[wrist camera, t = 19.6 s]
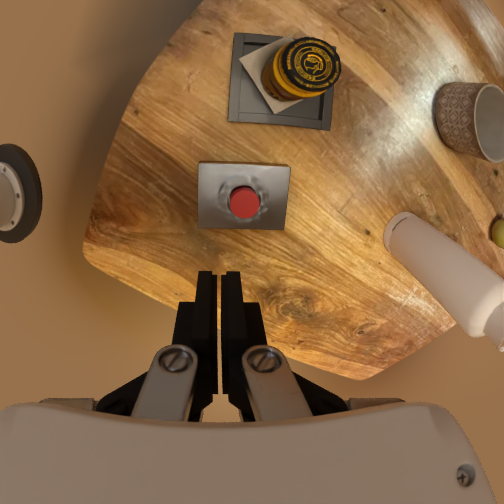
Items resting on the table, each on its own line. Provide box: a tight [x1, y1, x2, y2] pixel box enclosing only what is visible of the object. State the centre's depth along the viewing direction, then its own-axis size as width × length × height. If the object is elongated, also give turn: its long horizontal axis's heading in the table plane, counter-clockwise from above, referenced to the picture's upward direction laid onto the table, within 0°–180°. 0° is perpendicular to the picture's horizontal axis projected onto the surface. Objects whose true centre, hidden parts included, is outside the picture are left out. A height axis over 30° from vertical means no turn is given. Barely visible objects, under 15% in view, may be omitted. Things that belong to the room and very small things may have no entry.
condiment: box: [239, 35, 341, 114], centre depth 24 cm, size 7×8×12 cm
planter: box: [435, 82, 504, 164], centre depth 31 cm, size 13×13×10 cm
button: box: [230, 187, 260, 218], centre depth 35 cm, size 4×4×2 cm
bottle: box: [383, 212, 504, 352], centre depth 32 cm, size 8×8×28 cm
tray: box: [228, 33, 336, 131], centre depth 31 cm, size 13×12×3 cm
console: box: [198, 161, 291, 230], centre depth 38 cm, size 12×9×4 cm
